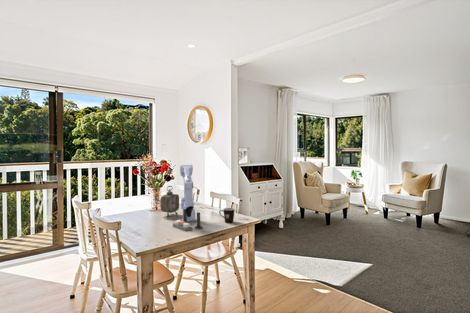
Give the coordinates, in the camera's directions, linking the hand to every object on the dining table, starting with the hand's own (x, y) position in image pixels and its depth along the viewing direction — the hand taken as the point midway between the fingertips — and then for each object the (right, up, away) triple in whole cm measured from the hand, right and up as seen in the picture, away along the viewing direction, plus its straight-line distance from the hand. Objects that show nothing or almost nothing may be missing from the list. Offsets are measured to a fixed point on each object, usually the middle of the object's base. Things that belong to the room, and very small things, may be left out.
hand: (188, 216), depth 206 cm
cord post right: (+7, -7, -4) cm, 11 cm away
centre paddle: (-4, -4, -4) cm, 7 cm away
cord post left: (-4, -7, +8) cm, 11 cm away
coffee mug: (+28, -7, +12) cm, 31 cm away
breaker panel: (-4, -7, -4) cm, 9 cm away
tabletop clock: (-21, -6, +31) cm, 38 cm away
